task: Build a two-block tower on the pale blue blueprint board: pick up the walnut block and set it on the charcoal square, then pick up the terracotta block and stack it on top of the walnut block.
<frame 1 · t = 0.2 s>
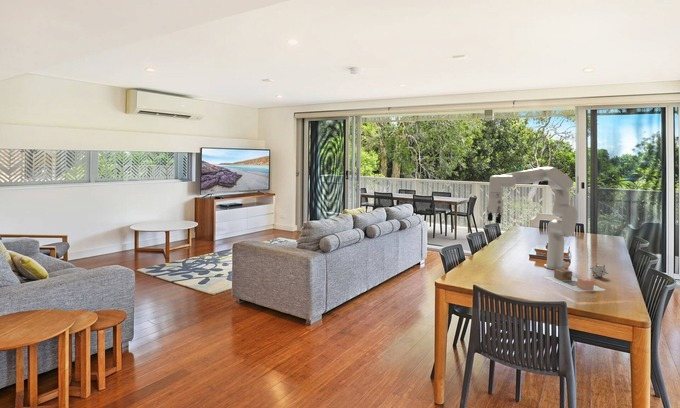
hand: (493, 222, 266), 31 cm above the table, tool pointing down, fingers open, 9 cm apart
walnut block: (562, 278, 246), point 1 cm above the table, touching blueprint board
terracotta block: (585, 288, 229), point 1 cm above the table, touching blueprint board
grey spiky ball: (598, 277, 255), on the table
blueprint board: (573, 285, 238), on the table
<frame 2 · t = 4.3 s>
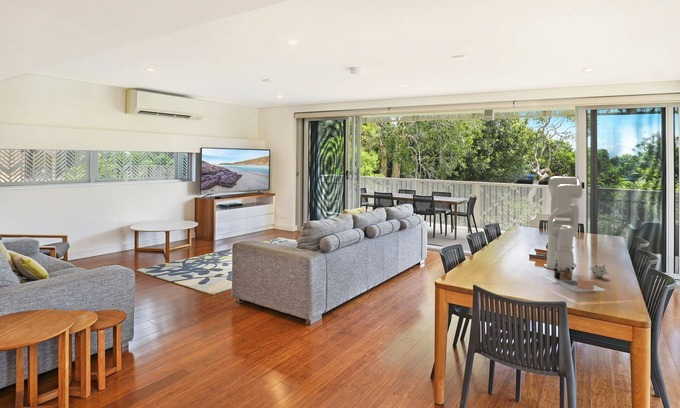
hand: (562, 278, 246), 1 cm above the table, tool pointing down, fingers closed on walnut block, 6 cm apart
walnut block: (562, 278, 246), point 1 cm above the table, touching blueprint board, gripper
everything else where it was.
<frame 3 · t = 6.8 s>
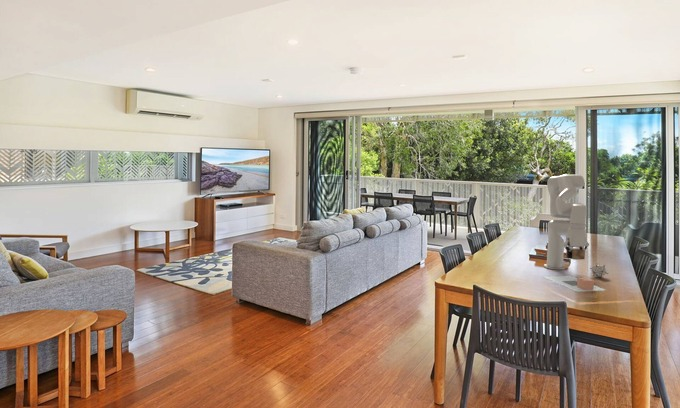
hand: (575, 257, 236), 16 cm above the table, tool pointing down, fingers closed on walnut block, 6 cm apart
walnut block: (575, 258, 236), point 15 cm above the table, touching gripper
everything else where it was.
when the fingers open (3 cm above the table, at t = 9.6 s): walnut block drops 1 cm, resting on blueprint board.
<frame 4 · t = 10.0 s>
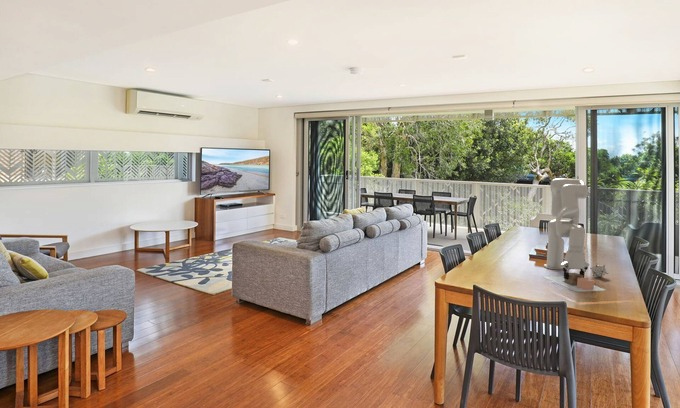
hand: (573, 278, 237), 4 cm above the table, tool pointing down, fingers open, 9 cm apart
walnut block: (573, 282, 237), point 1 cm above the table, touching blueprint board
everything else where it was.
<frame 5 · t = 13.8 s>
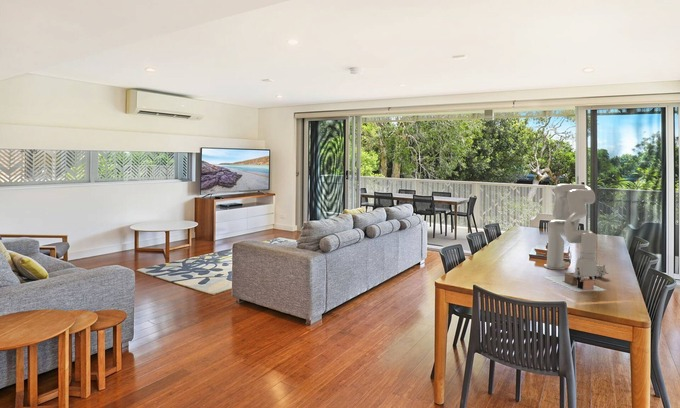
hand: (585, 287, 228), 1 cm above the table, tool pointing down, fingers closed on terracotta block, 5 cm apart
terracotta block: (585, 288, 229), point 1 cm above the table, touching blueprint board, gripper
everything else where it was.
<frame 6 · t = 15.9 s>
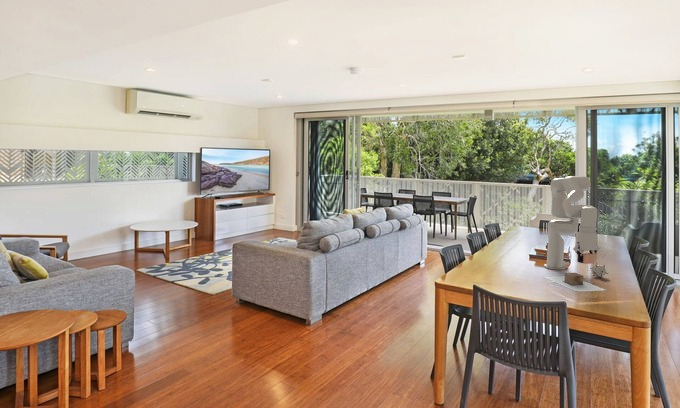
hand: (585, 262, 228), 15 cm above the table, tool pointing down, fingers closed on terracotta block, 5 cm apart
terracotta block: (585, 262, 228), point 15 cm above the table, touching gripper
everything else where it was.
when the fingers open (8 cm above the table, at t = 18.2 s): terracotta block drops 1 cm, resting on walnut block.
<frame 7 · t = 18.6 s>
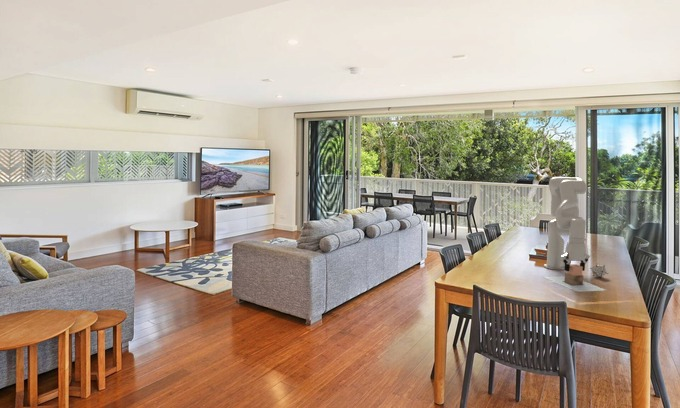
hand: (574, 270, 237), 8 cm above the table, tool pointing down, fingers open, 9 cm apart
walnut block: (573, 282, 237), point 1 cm above the table, touching blueprint board, terracotta block
terracotta block: (574, 274, 237), point 6 cm above the table, touching walnut block
everything else where it was.
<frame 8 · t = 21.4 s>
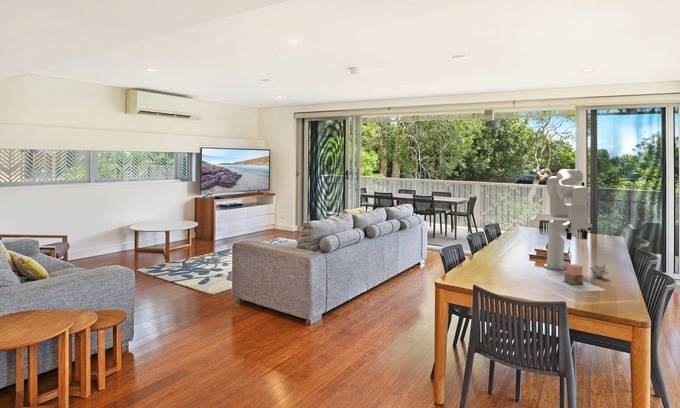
hand: (576, 239, 235), 26 cm above the table, tool pointing down, fingers open, 9 cm apart
nothing on the table moved.
at the end: walnut block 0.1 cm off-centre on the blueprint board, point 1.2 cm above the blueprint board's base; terracotta block 0.1 cm off-centre on the walnut block, point 5.0 cm above the walnut block's base; terracotta block tilted 0° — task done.
